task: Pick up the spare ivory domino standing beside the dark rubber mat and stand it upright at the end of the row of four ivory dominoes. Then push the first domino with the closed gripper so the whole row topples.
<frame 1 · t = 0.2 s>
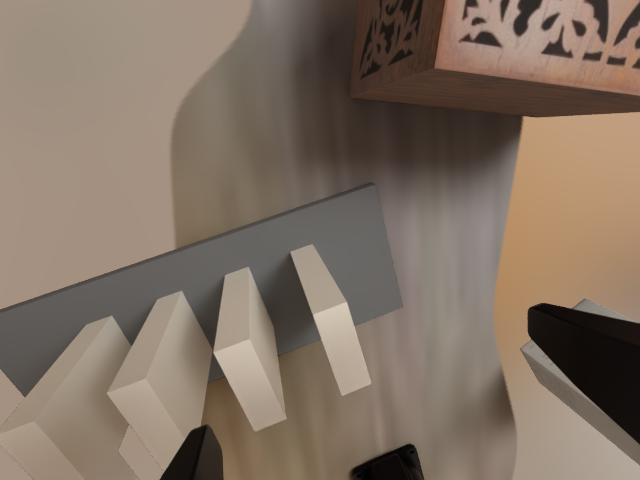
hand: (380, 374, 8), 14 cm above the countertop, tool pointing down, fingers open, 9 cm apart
domino 4: (119, 350, 21), point 1 cm above the countertop, touching rubber mat
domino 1: (312, 279, 22), point 1 cm above the countertop, touching rubber mat
domino 2: (250, 302, 22), point 1 cm above the countertop, touching rubber mat
domino 3: (186, 325, 22), point 1 cm above the countertop, touching rubber mat
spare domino: (117, 468, 25), on the countertop
small box: (558, 338, 31), on the countertop
rubber mat: (216, 309, 22), on the countertop
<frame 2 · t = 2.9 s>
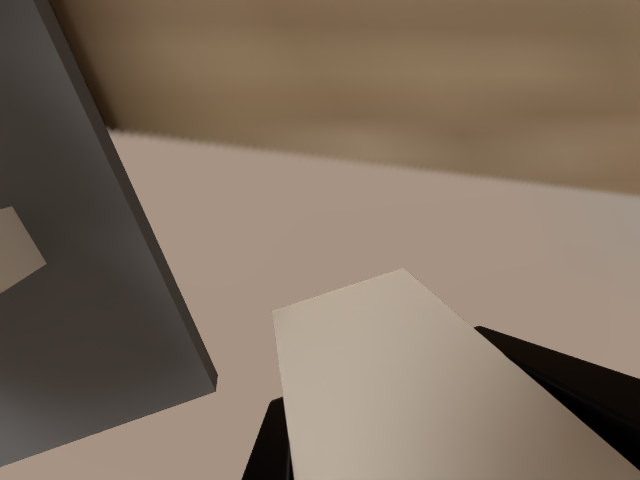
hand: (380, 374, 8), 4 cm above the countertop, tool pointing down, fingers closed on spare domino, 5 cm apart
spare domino: (343, 307, 12), on the countertop, touching gripper
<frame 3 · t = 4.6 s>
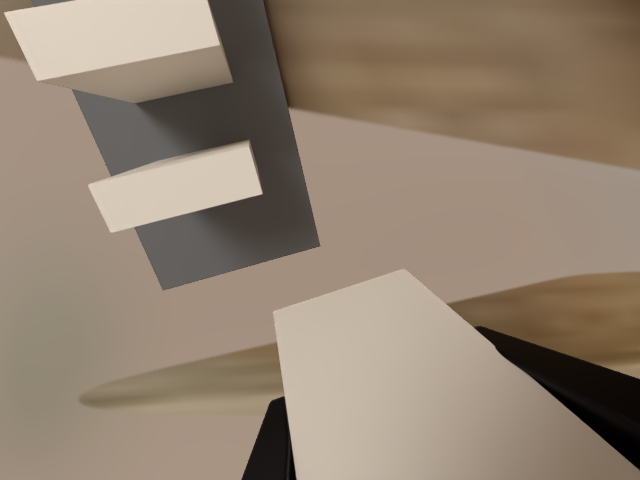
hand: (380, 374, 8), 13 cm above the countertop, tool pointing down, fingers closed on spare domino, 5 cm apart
domino 4: (209, 164, 18), point 1 cm above the countertop, touching rubber mat
domino 3: (179, 75, 16), point 1 cm above the countertop, touching rubber mat
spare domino: (344, 307, 12), point 10 cm above the countertop, touching gripper
rubber mat: (167, 34, 16), on the countertop
when the fingers open (5 cm above the countertop, at t = 6.7 s): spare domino stays where it is, resting on rubber mat.
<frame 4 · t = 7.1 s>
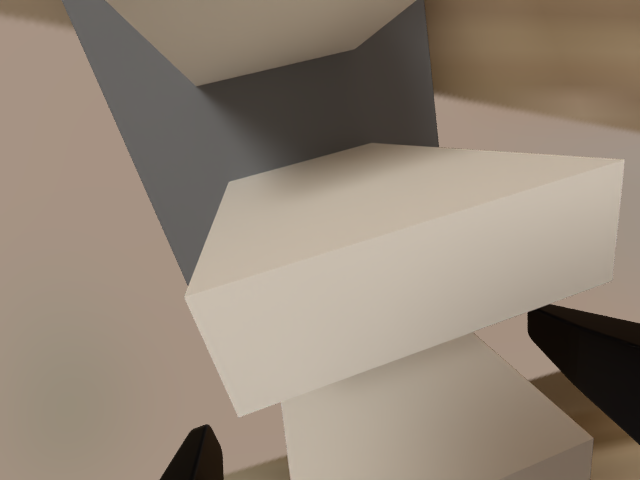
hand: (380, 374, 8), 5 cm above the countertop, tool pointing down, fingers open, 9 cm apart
domino 4: (307, 184, 11), point 1 cm above the countertop, touching rubber mat
domino 3: (270, 37, 9), point 1 cm above the countertop, touching rubber mat
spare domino: (335, 297, 13), point 1 cm above the countertop, touching rubber mat
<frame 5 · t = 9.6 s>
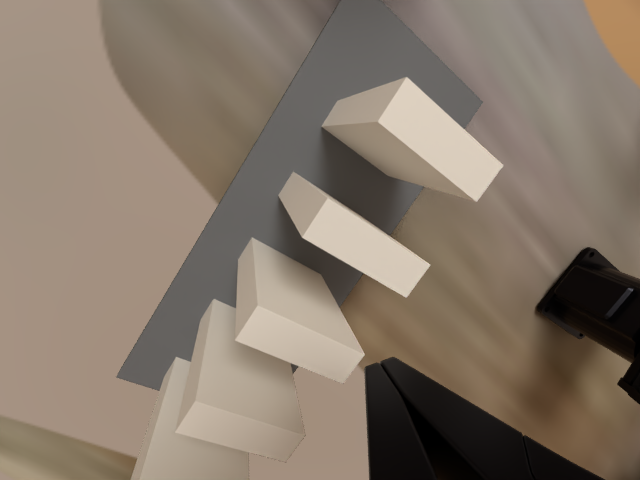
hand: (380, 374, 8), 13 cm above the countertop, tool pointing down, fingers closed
domino 4: (243, 324, 20), point 1 cm above the countertop, touching rubber mat
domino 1: (363, 140, 18), point 1 cm above the countertop, touching rubber mat
domino 2: (321, 205, 19), point 1 cm above the countertop, touching rubber mat
domino 3: (281, 267, 20), point 1 cm above the countertop, touching rubber mat
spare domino: (207, 379, 21), point 1 cm above the countertop, touching rubber mat
rubber mat: (296, 236, 20), on the countertop
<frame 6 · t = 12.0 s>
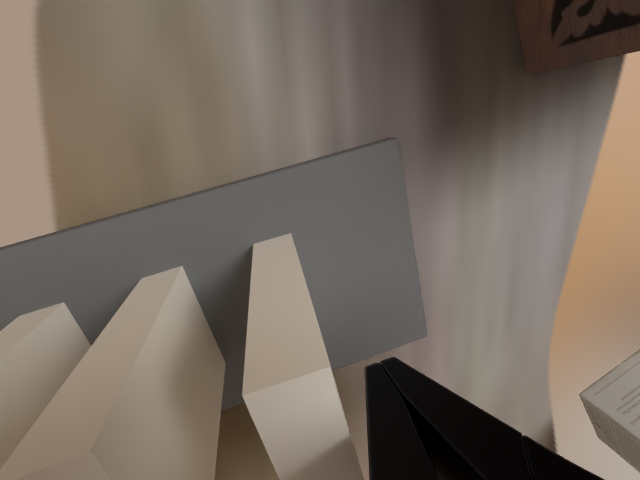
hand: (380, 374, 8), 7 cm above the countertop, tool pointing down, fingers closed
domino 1: (289, 290, 14), point 1 cm above the countertop, touching gripper, rubber mat
domino 2: (186, 323, 13), point 1 cm above the countertop, touching rubber mat
domino 3: (75, 360, 13), point 1 cm above the countertop, touching rubber mat
small box: (627, 380, 23), on the countertop
rubber mat: (132, 332, 14), on the countertop
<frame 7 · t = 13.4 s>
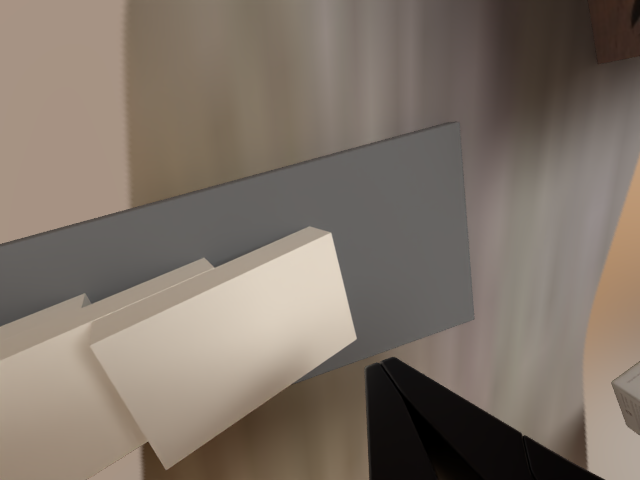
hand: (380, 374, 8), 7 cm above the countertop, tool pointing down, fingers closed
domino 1: (333, 283, 14), point 2 cm above the countertop, tilted 69°, touching domino 2, rubber mat
domino 2: (230, 316, 13), point 2 cm above the countertop, tilted 70°, touching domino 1, domino 3, rubber mat
domino 3: (115, 354, 12), point 2 cm above the countertop, tilted 70°, touching domino 2, domino 4, rubber mat
rubber mat: (194, 310, 14), on the countertop
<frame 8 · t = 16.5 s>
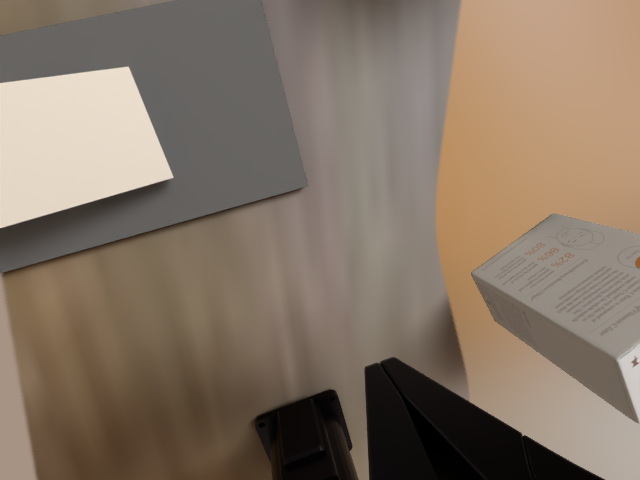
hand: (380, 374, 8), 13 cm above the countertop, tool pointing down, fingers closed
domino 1: (150, 127, 16), point 2 cm above the countertop, tilted 69°, touching domino 2, rubber mat
small box: (519, 266, 25), on the countertop
rubber mat: (37, 157, 16), on the countertop
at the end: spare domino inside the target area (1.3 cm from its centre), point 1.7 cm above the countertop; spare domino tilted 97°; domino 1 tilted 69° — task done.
